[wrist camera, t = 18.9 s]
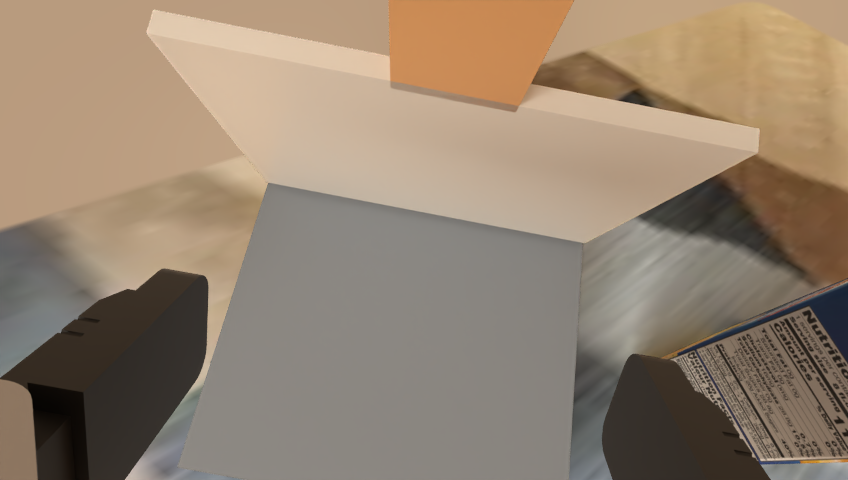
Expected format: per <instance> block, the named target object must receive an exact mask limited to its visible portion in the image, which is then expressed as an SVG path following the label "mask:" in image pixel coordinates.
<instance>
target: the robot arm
mask: <svg viewBox="0 0 848 480" xmlns="http://www.w3.org/2000/svg"><path fill="white" fill-rule="evenodd" d="M207 316H208V281H207V279H206V277H205V276H203V275H198V274H192V273H186V272H181V271H175V270H170V269H161V270H160V271H158V272H157V273H156V274H155V275H153V276H152V277H151V278H150V279H149V280H148V281H146V282H145V283H144V284H143V285H142V286H140V287H139V288H138V289H137V290H136V291H135V290H130V289H126V290H124V291H121V292H119V293H116V294H114V295H111V296H109V297H106V298H104V299H101V300H99V301H98V302H96V303H95V304H94V305H92V306H91V307H90V308H89V309H87V310H86V311H85V312H84V313H82V314H81V315H80V316H79V318H78V320H73V321H72V322H71V323H70V324H68V325H67V326H66V327H64V328H63V329H62V332H61V334H60V333H57V334H56V335H54V336H53V337H52V338H50V339H49V340H48V341H47V342H45V343H44V344H43V345H42V346H40V347H39V348H38V349H37V350H35V351H34V352H33V353H31V354H30V355H29V356H28V357H26V358H25V359H24V360H23V361H21V362H20V363H19V364H17V365H16V366H15V367H14V368H12V369H11V370H10V371H9V372H7V373H6V374H5V375H3V376H2V377H1V378H0V480H125V479H126V477H127V476H128V474H129V473H130V472H131V470H132V469H133V467H134V466H135V465H136V463H137V462H138V461H139V459H140V458H141V456H142V455H143V454H144V452H145V451H146V449H147V448H148V447H149V445H150V444H151V442H152V441H153V440H154V438H155V437H156V436H157V434H158V433H159V431H160V430H161V429H162V427H163V426H164V424H165V423H166V422H167V420H168V419H169V417H170V416H171V415H172V413H173V412H174V411H175V409H176V408H177V406H178V405H179V404H180V402H181V401H182V399H183V398H184V397H185V395H186V394H187V392H188V391H189V390H190V388H191V387H192V385H193V384H194V383H195V381H196V380H197V378H198V376H199V374H200V372H201V369H202V366H203V363H204V359H205V355H206V346H207ZM739 436H740V434H739V433H738V431H737V430H736V428H735V427H734V425H733V424H732V423H731V421H730V420H729V418H728V417H727V415H726V414H725V413H724V412H723V411H722V410H721V409H720V408H719V407H717V406H716V405H715V404H714V403H713V402H712V401H711V400H709V399H708V398H707V397H706V396H705V395H704V394H702V393H701V392H696V391H695V389H694V388H693V386H692V385H691V383H690V382H689V380H688V379H687V377H686V375H685V374H684V372H683V371H682V369H681V368H680V366H679V365H678V363H677V362H675V361H673V360H667V359H662V358H656V357H651V356H645V355H639V354H632V355H631V356H630V357H629V358H628V359H627V361H626V363H625V365H624V368H623V371H622V374H621V376H620V379H619V382H618V385H617V387H616V390H615V393H614V396H613V398H612V401H611V404H610V407H609V409H608V412H607V415H606V418H605V421H604V425H603V433H602V445H603V452H604V456H605V459H606V461H607V464H608V467H609V470H610V473H611V476H612V479H613V480H771V479H770V478H769V477H768V475H767V474H766V472H765V471H764V469H763V468H762V466H761V465H760V463H759V462H758V460H757V459H756V458H754V457H752V452H751V450H750V449H749V447H748V446H747V444H746V443H745V441H744V440H743V439H740V437H739Z"/></svg>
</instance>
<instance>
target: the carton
mask: <svg viewBox="0 0 848 480" xmlns="http://www.w3.org/2000/svg"><path fill="white" fill-rule="evenodd" d="M582 250H583V243H581V242H575V241H570V240H565V239H560V238H554V237H549V236H544V235H539V234H534V233H528V232H523V231H518V230H513V229H508V228H502V227H497V226H492V225H487V224H481V223H476V222H471V221H466V220H461V219H455V218H450V217H445V216H440V215H435V214H429V213H424V212H419V211H414V210H408V209H403V208H398V207H393V206H388V205H382V204H377V203H372V202H367V201H362V200H356V199H351V198H346V197H341V196H335V195H330V194H325V193H320V192H315V191H309V190H304V189H299V188H294V187H289V186H283V185H278V184H273V183H268V185H267V188H266V192H265V195H264V198H263V201H262V204H261V207H260V210H259V213H258V217H257V220H256V223H255V226H254V229H253V232H252V235H251V238H250V242H249V245H248V248H247V251H246V254H245V257H244V260H243V263H242V267H241V270H240V273H239V276H238V279H237V282H236V285H235V288H234V292H233V295H232V298H231V301H230V304H229V307H228V310H227V313H226V317H225V320H224V323H223V326H222V329H221V332H220V335H219V339H218V342H217V345H216V348H215V351H214V354H213V357H212V360H211V364H210V367H209V370H208V373H207V376H206V379H205V382H204V385H203V389H202V392H201V395H200V398H199V401H198V404H197V407H196V410H195V414H194V417H193V420H192V423H191V426H190V429H189V432H188V435H187V439H186V442H185V445H184V448H183V451H182V454H181V457H180V461H179V464H178V468H183V469H189V470H194V471H200V472H205V473H210V474H216V475H221V476H227V477H232V478H238V479H243V480H569V466H570V449H571V432H572V416H573V399H574V383H575V366H576V349H577V333H578V316H579V300H580V283H581V266H582Z"/></svg>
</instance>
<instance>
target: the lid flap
mask: <svg viewBox="0 0 848 480" xmlns="http://www.w3.org/2000/svg"><path fill="white" fill-rule="evenodd" d="M573 2H574V0H389V40H390V42H389V44H390V56H387V55H382V54H377V53H372V52H367V51H362V50H356V49H351V48H346V47H341V46H336V45H331V44H326V43H321V42H316V41H310V40H305V39H300V38H295V37H290V36H285V35H280V34H275V33H269V32H265V31H259V30H254V29H249V28H244V27H239V26H234V25H229V24H224V23H219V22H213V21H208V20H203V19H198V18H193V17H188V16H183V15H178V14H173V13H167V12H162V11H157V10H153V13H152V16H151V19H150V22H149V26H148V29H147V32H146V34H147V35H148V36H149V37H150V39H151V40H152V41H153V42H154V44H155V45H156V46H157V47H158V49H159V50H160V51H161V52H162V53H163V55H164V56H165V57H166V58H167V60H168V61H169V62H170V63H171V65H172V66H173V67H174V68H175V70H176V71H177V72H178V73H179V75H180V76H181V77H182V78H183V79H184V81H185V82H186V83H187V84H188V86H189V87H190V88H191V89H192V91H193V92H194V93H195V94H196V96H197V97H198V98H199V99H200V100H201V102H202V103H203V104H204V106H205V107H206V108H207V109H208V111H209V112H210V113H211V114H212V116H213V117H214V118H215V119H216V121H217V122H218V123H219V124H220V126H222V128H223V129H224V130H225V132H226V133H227V134H228V135H229V137H230V138H231V139H232V140H233V142H234V143H235V144H236V145H237V147H238V148H239V149H240V150H241V152H242V153H243V154H244V155H245V157H246V158H247V159H248V160H249V161H250V163H251V164H252V165H253V166H254V168H255V169H256V170H257V171H258V173H259V174H260V175H261V176H262V178H263V179H264V180H265V181H266V182H268V183H273V184H278V185H283V186H289V187H294V188H299V189H304V190H309V191H315V192H320V193H325V194H330V195H335V196H341V197H346V198H351V199H356V200H362V201H367V202H372V203H377V204H382V205H388V206H393V207H398V208H403V209H408V210H414V211H419V212H424V213H429V214H435V215H440V216H445V217H450V218H455V219H461V220H466V221H471V222H476V223H481V224H487V225H492V226H497V227H502V228H508V229H513V230H518V231H523V232H528V233H534V234H539V235H544V236H549V237H554V238H560V239H565V240H570V241H575V242H581V243H587V242H589V241H591V240H593V239H595V238H596V237H598V236H600V235H602V234H604V233H606V232H608V231H610V230H612V229H614V228H616V227H617V226H619V225H621V224H623V223H625V222H627V221H629V220H631V219H633V218H635V217H637V216H638V215H640V214H642V213H644V212H646V211H648V210H650V209H652V208H654V207H656V206H658V205H659V204H661V203H663V202H665V201H667V200H669V199H671V198H673V197H675V196H677V195H679V194H680V193H682V192H684V191H686V190H688V189H690V188H692V187H694V186H696V185H698V184H700V183H701V182H703V181H705V180H707V179H709V178H711V177H713V176H715V175H717V174H719V173H721V172H722V171H724V170H726V169H728V168H730V167H732V166H734V165H736V164H738V163H740V162H742V161H743V160H745V159H747V158H749V157H751V156H753V155H755V154H757V153H758V148H759V135H760V129H759V128H754V127H749V126H744V125H739V124H734V123H729V122H724V121H719V120H714V119H708V118H703V117H698V116H693V115H688V114H683V113H678V112H673V111H668V110H663V109H657V108H652V107H647V106H642V105H637V104H632V103H627V102H622V101H617V100H612V99H606V98H601V97H596V96H591V95H586V94H581V93H576V92H571V91H566V90H560V89H555V88H550V87H545V86H540V85H535V84H531V82H532V80H533V78H534V77H535V75H536V73H537V71H538V69H539V67H540V65H541V63H542V61H543V59H544V57H545V55H546V53H547V51H548V50H549V48H550V46H551V44H552V42H553V40H554V38H555V36H556V34H557V32H558V31H559V28H560V27H561V25H562V23H563V21H564V19H565V17H566V15H567V13H568V11H569V10H570V7H571V6H572V4H573Z"/></svg>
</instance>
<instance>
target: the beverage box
mask: <svg viewBox="0 0 848 480" xmlns="http://www.w3.org/2000/svg"><path fill="white" fill-rule="evenodd" d="M662 359H667V360H673V361H675V362H677V363H678V365H679V366H680V368H681V369H682V371H683V372H684V374H685V375H686V377H687V379H688V380H689V382H690V383H691V385H692V386H693V388H694V389H695V391H696V392H701V393H702V394H704V395H705V396H706V397H707V398H708V399H709V400H711V401H712V402H713V403H714V404H715V405H716V406H717V407H719V408H720V409H721V410H722V411H723V412H724V413H725V414H726V415H727V417H728V418H729V420H730V421H731V423H732V424H733V425H734V427H735V428H736V430H737V431H738V433H739V434H740V436H739V437H740V439H743V440H744V441H745V443H746V444H747V446H748V447H749V449H750V450H751V452H752V457H754V458H756V459H757V460H758V462H759V463H760V464H795V463H832V462H848V278H847V279H845V280H842V281H840V282H837V283H835V284H833V285H830V286H828V287H825V288H823V289H820V290H818V291H816V292H813V293H811V294H808V295H806V296H803V297H801V298H799V299H796V300H794V301H791V302H789V303H786V304H784V305H782V306H779V307H777V308H774V309H772V310H769V311H767V312H765V313H762V314H760V315H757V316H755V317H752V318H750V319H748V320H745V321H743V322H740V323H738V324H736V325H734V326H731V327H729V328H727V329H725V330H722V331H720V332H718V333H716V334H713V335H711V336H709V337H707V338H704V339H702V340H700V341H698V342H695V343H693V344H691V345H689V346H686V347H684V348H682V349H680V350H677V351H675V352H673V353H671V354H668V355H666V356H664V357H662Z"/></svg>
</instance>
